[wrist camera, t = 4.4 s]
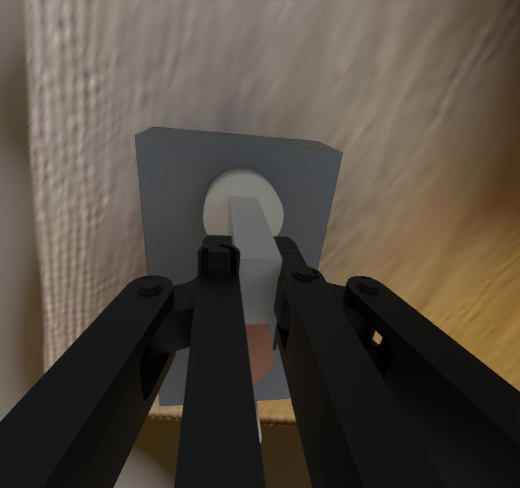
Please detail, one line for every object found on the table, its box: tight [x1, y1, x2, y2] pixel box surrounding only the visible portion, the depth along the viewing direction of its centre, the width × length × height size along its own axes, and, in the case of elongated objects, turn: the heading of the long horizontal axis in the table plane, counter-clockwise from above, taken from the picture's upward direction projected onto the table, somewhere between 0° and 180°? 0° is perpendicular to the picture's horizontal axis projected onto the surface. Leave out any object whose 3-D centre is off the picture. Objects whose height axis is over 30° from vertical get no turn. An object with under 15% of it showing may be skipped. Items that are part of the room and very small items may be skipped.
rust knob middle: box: [245, 324, 275, 383], centre depth 20 cm, size 4×4×7 cm
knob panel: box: [135, 127, 343, 406], centre depth 24 cm, size 12×23×5 cm, turn 174°
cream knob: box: [203, 168, 284, 236], centre depth 19 cm, size 4×4×7 cm
